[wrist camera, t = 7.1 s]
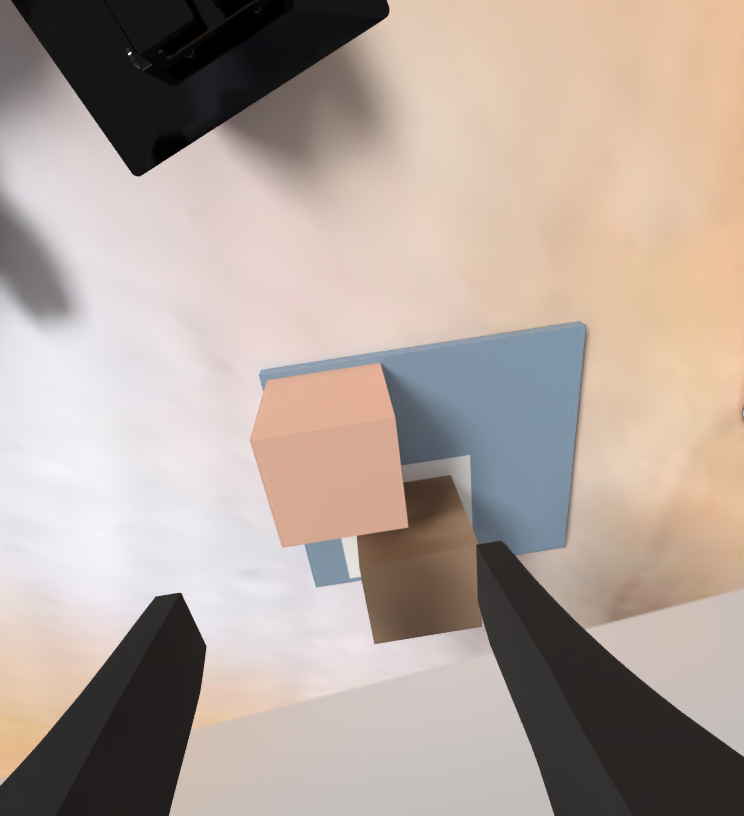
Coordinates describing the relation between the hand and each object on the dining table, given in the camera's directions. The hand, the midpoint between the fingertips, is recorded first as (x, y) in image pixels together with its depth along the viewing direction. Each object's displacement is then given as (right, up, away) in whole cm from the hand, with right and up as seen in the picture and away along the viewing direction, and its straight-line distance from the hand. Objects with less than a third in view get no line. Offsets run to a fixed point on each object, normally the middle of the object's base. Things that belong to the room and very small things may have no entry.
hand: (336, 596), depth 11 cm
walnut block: (+3, -1, +11) cm, 11 cm away
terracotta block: (-1, +4, +8) cm, 9 cm away
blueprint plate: (+4, +2, +10) cm, 11 cm away
